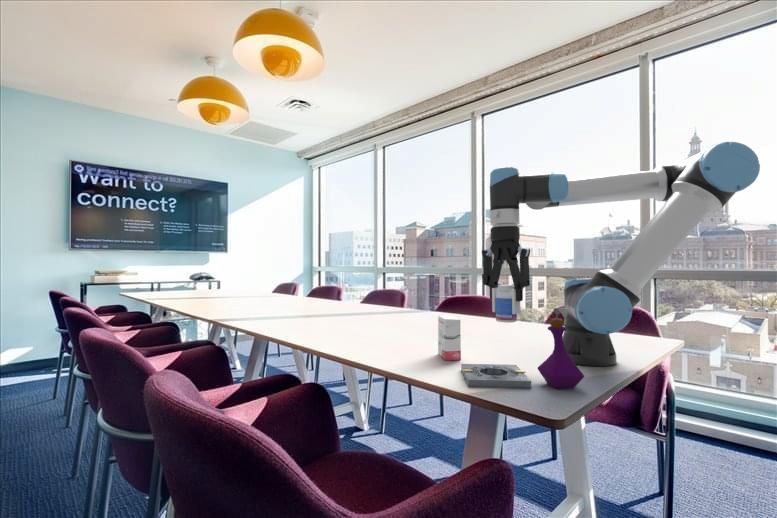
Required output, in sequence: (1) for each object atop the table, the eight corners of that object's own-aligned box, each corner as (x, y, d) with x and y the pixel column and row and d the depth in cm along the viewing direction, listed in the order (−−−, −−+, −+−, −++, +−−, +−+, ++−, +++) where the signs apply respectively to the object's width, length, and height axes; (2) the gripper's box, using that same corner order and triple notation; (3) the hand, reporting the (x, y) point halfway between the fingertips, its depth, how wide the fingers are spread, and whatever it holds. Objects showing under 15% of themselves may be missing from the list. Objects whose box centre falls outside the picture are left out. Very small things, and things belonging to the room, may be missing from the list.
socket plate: (517, 370, 105) (517, 363, 105) (533, 388, 91) (533, 379, 91) (459, 369, 106) (459, 362, 106) (466, 386, 92) (466, 378, 92)
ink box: (461, 360, 116) (461, 319, 116) (444, 360, 116) (444, 319, 116) (453, 353, 125) (453, 314, 125) (437, 353, 125) (437, 315, 124)
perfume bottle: (536, 381, 96) (537, 305, 96) (567, 380, 97) (567, 305, 97) (552, 391, 89) (552, 309, 89) (585, 390, 90) (585, 309, 90)
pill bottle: (517, 323, 106) (517, 285, 106) (496, 322, 107) (495, 285, 107) (515, 320, 112) (515, 284, 112) (495, 319, 113) (494, 284, 113)
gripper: (468, 228, 114) (469, 311, 114) (529, 222, 100) (530, 317, 100) (484, 229, 119) (485, 308, 119) (544, 224, 105) (545, 314, 105)
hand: (506, 312), depth 109 cm, fingers closed on pill bottle, 5 cm apart
